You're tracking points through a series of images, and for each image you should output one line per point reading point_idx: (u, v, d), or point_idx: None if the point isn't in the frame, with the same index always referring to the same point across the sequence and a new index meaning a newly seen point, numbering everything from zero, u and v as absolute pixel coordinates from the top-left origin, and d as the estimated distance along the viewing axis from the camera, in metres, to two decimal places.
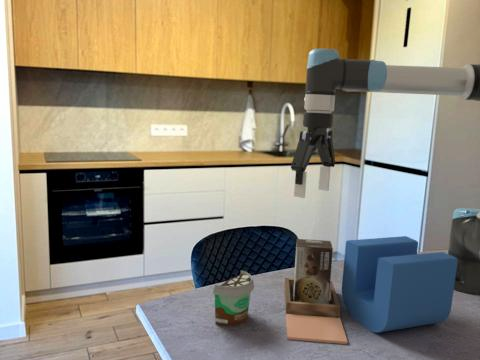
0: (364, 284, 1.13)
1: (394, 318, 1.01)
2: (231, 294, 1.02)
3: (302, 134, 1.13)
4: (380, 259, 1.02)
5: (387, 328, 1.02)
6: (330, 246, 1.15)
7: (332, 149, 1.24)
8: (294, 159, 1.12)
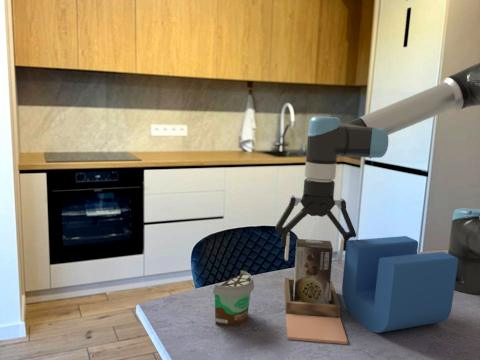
0: (365, 284, 1.13)
1: (395, 318, 1.01)
2: (231, 294, 1.02)
3: (290, 198, 1.16)
4: (381, 259, 1.02)
5: (388, 328, 1.02)
6: (330, 246, 1.15)
7: (348, 221, 1.14)
8: (278, 221, 1.17)
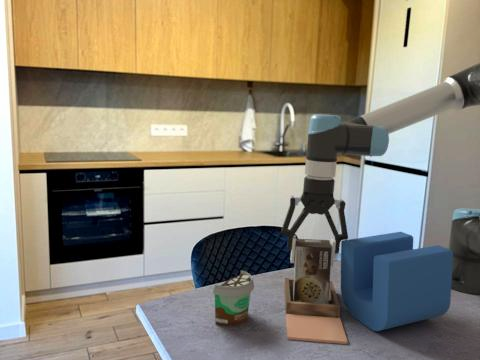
0: (363, 282, 1.13)
1: (394, 315, 1.01)
2: (231, 294, 1.02)
3: (290, 199, 1.16)
4: (375, 257, 1.02)
5: (388, 326, 1.02)
6: (329, 245, 1.15)
7: (343, 222, 1.14)
8: None
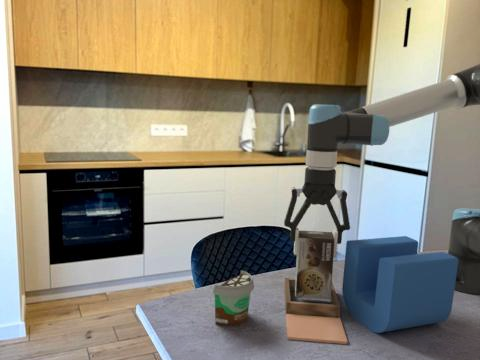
0: (365, 284, 1.13)
1: (395, 318, 1.01)
2: (231, 294, 1.02)
3: None
4: (381, 259, 1.02)
5: (389, 328, 1.02)
6: (332, 237, 1.15)
7: (345, 213, 1.14)
8: (286, 215, 1.17)
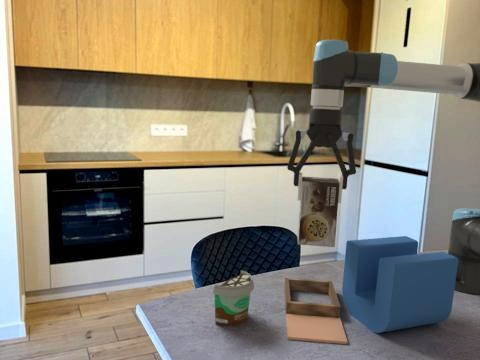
0: (365, 284, 1.13)
1: (395, 318, 1.01)
2: (231, 294, 1.02)
3: (295, 133, 1.11)
4: (381, 259, 1.02)
5: (389, 328, 1.02)
6: (337, 181, 1.10)
7: (351, 156, 1.09)
8: (289, 159, 1.12)
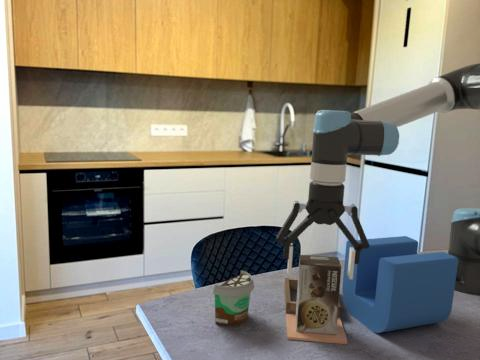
0: (365, 284, 1.13)
1: (395, 318, 1.01)
2: (231, 294, 1.02)
3: (293, 204, 1.01)
4: (381, 259, 1.02)
5: (389, 328, 1.02)
6: (338, 264, 1.01)
7: (360, 230, 1.00)
8: None
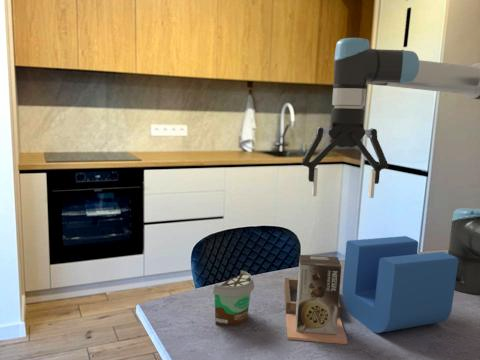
0: (365, 284, 1.13)
1: (395, 318, 1.01)
2: (231, 294, 1.02)
3: (317, 130, 1.09)
4: (381, 259, 1.02)
5: (389, 328, 1.02)
6: (338, 264, 1.01)
7: (379, 151, 1.08)
8: (305, 155, 1.11)
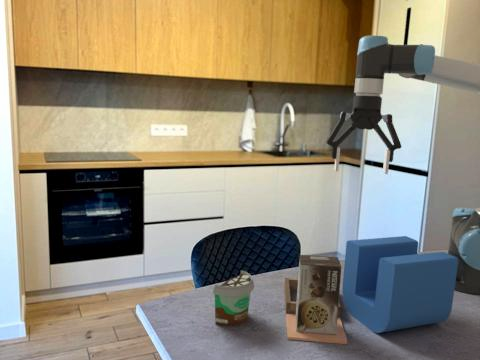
0: (365, 284, 1.13)
1: (395, 318, 1.01)
2: (231, 294, 1.02)
3: (340, 114, 1.27)
4: (381, 259, 1.02)
5: (389, 328, 1.02)
6: (338, 264, 1.01)
7: (394, 133, 1.25)
8: None
